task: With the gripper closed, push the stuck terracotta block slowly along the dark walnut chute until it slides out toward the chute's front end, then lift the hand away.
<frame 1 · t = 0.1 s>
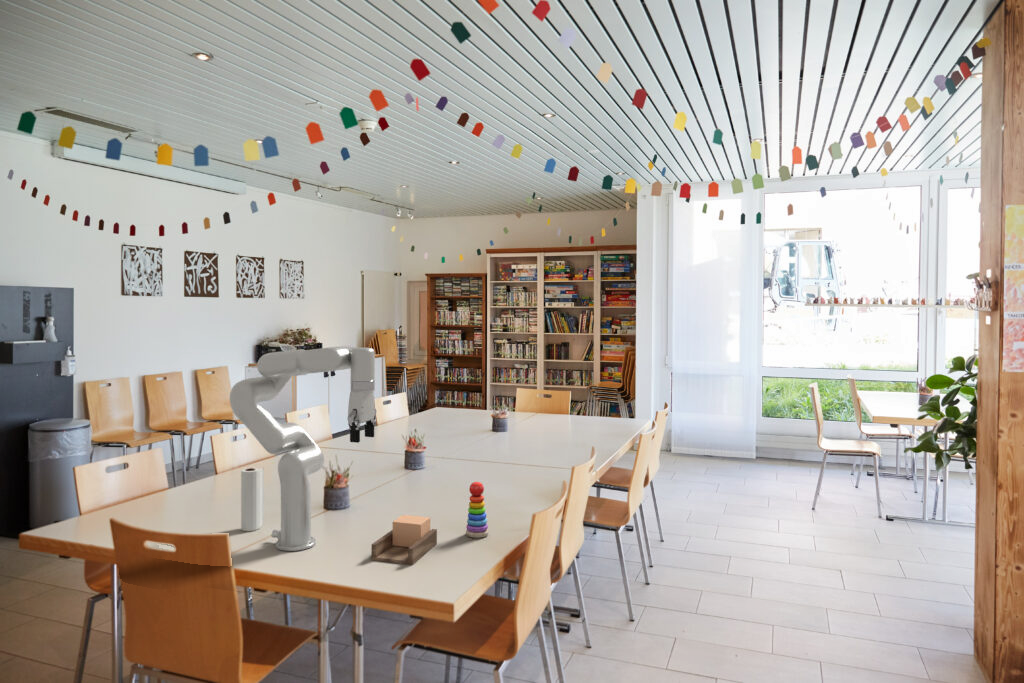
hand: (362, 439, 218), 37 cm above the table, tool pointing down, fingers open, 9 cm apart
chute: (405, 551, 221), on the table
stacking toy: (477, 535, 238), on the table
paper towel roll: (252, 529, 241), on the table
jammed block: (411, 531, 225), point 5 cm above the table, slide at 0.0 cm
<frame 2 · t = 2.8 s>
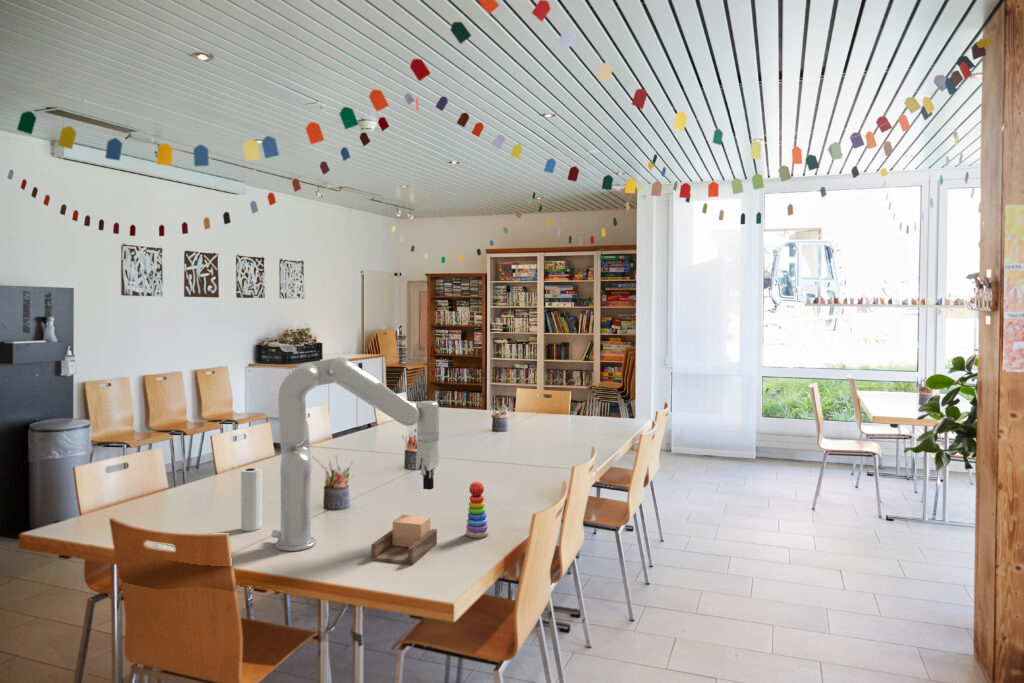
hand: (428, 488, 238), 16 cm above the table, tool pointing down, fingers closed
nothing on the table moved.
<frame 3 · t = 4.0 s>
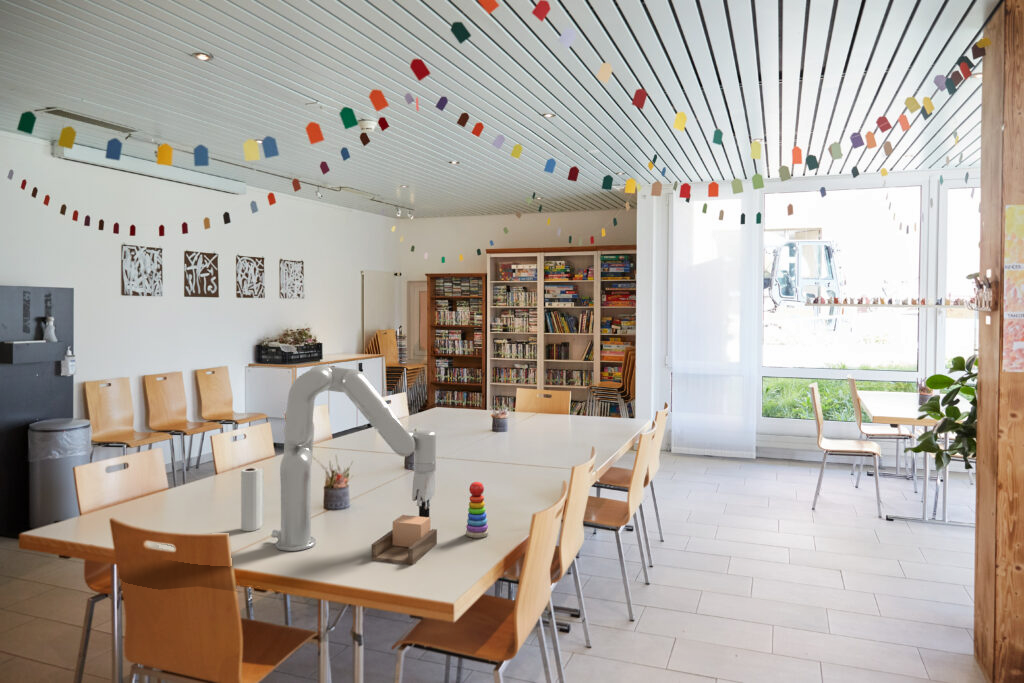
hand: (424, 519, 236), 6 cm above the table, tool pointing down, fingers closed
nothing on the table moved.
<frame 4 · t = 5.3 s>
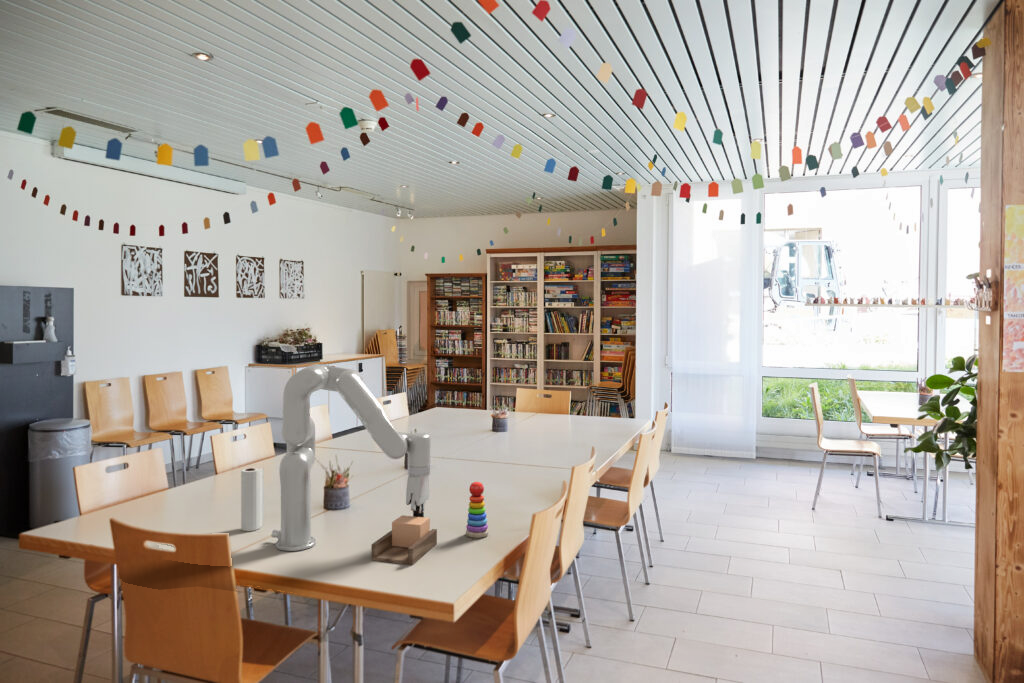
hand: (418, 523, 231), 6 cm above the table, tool pointing down, fingers closed
jammed block: (410, 531, 225), point 5 cm above the table, slide at 0.5 cm, touching gripper
everything else where it was.
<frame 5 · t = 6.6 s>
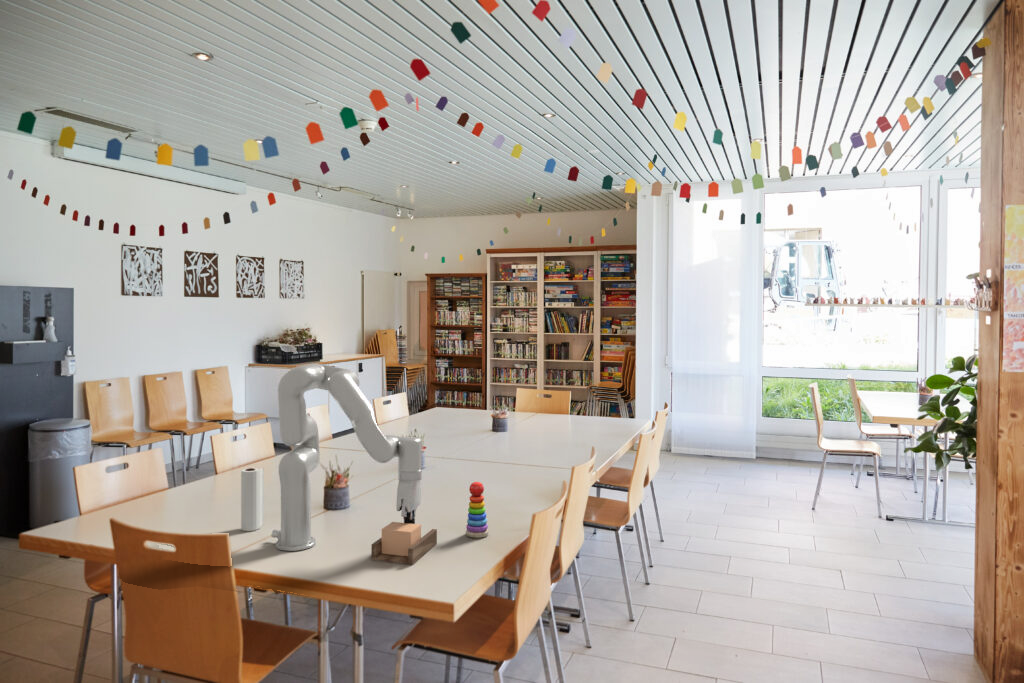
hand: (409, 530, 224), 6 cm above the table, tool pointing down, fingers closed
jammed block: (401, 538, 217), point 5 cm above the table, slide at 8.1 cm, touching gripper
everything else where it was.
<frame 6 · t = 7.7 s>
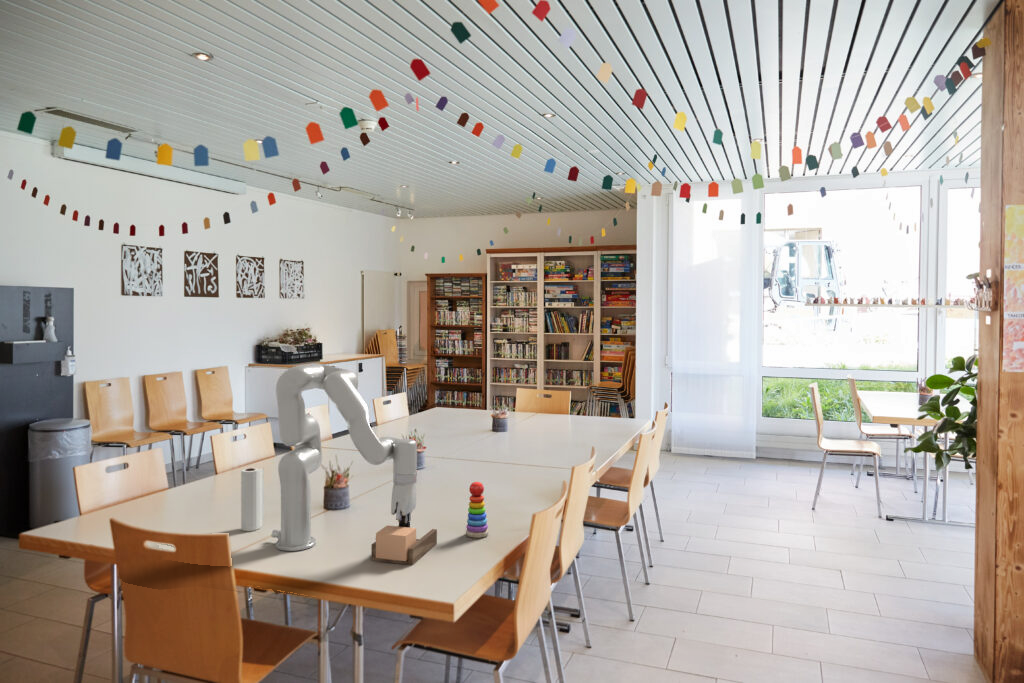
hand: (404, 534, 220), 6 cm above the table, tool pointing down, fingers closed
jammed block: (396, 542, 214), point 5 cm above the table, slide at 12.0 cm, touching gripper
everything else where it was.
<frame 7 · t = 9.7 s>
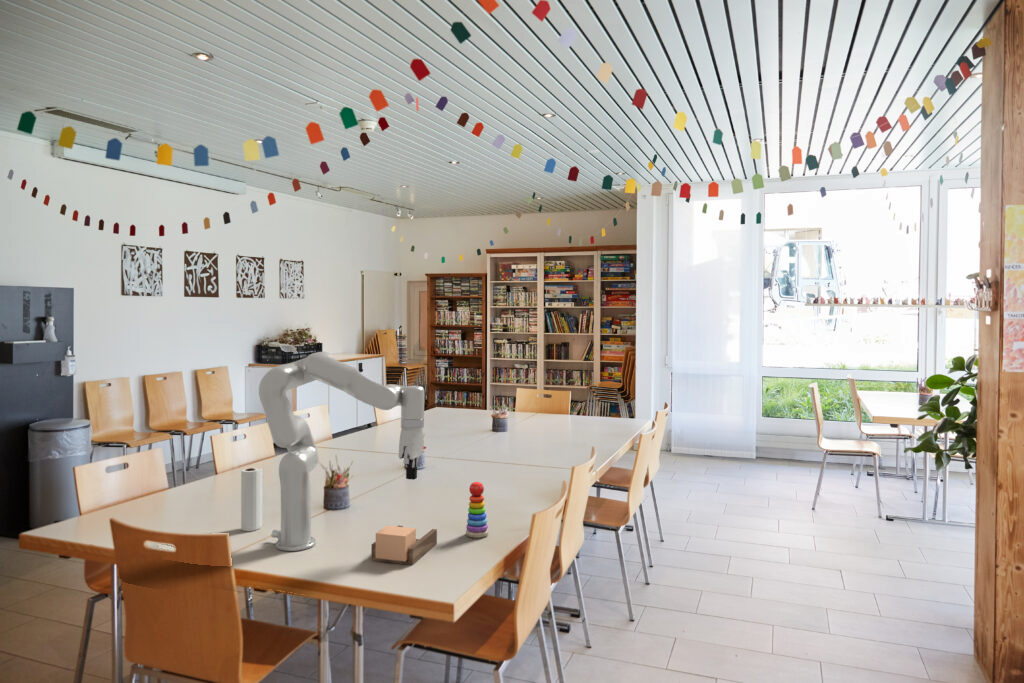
hand: (411, 478, 225), 23 cm above the table, tool pointing down, fingers closed
jammed block: (395, 543, 213), point 5 cm above the table, slide at 12.2 cm
everything else where it was.
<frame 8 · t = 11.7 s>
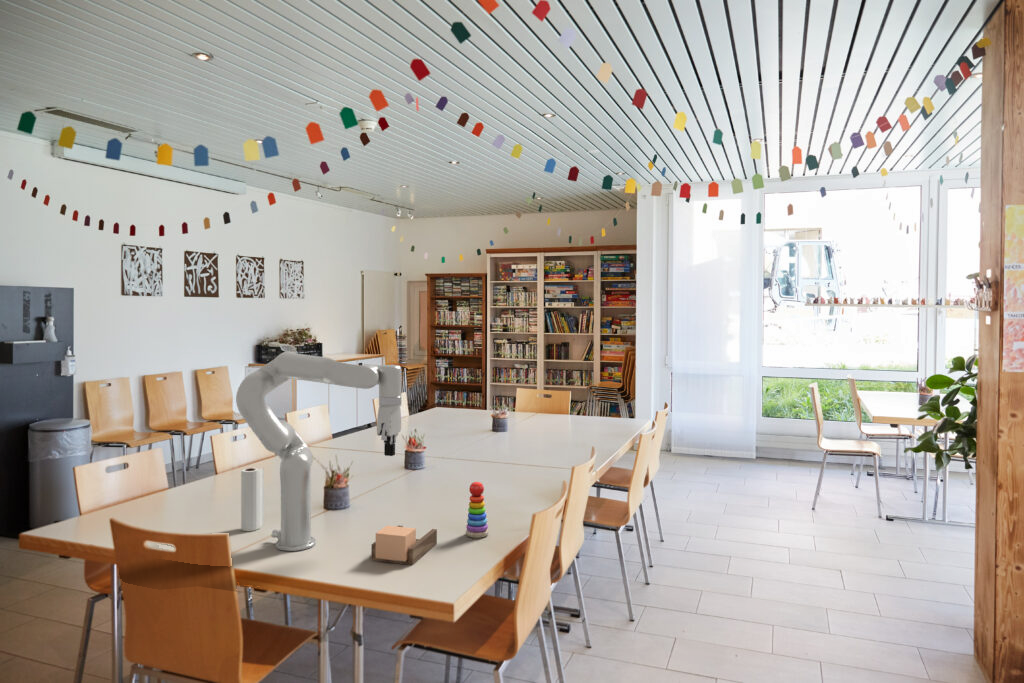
hand: (389, 455, 231), 29 cm above the table, tool pointing down, fingers closed
nothing on the table moved.
at the end: jammed block slide at 12.2 cm; the gripper is holding nothing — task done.
